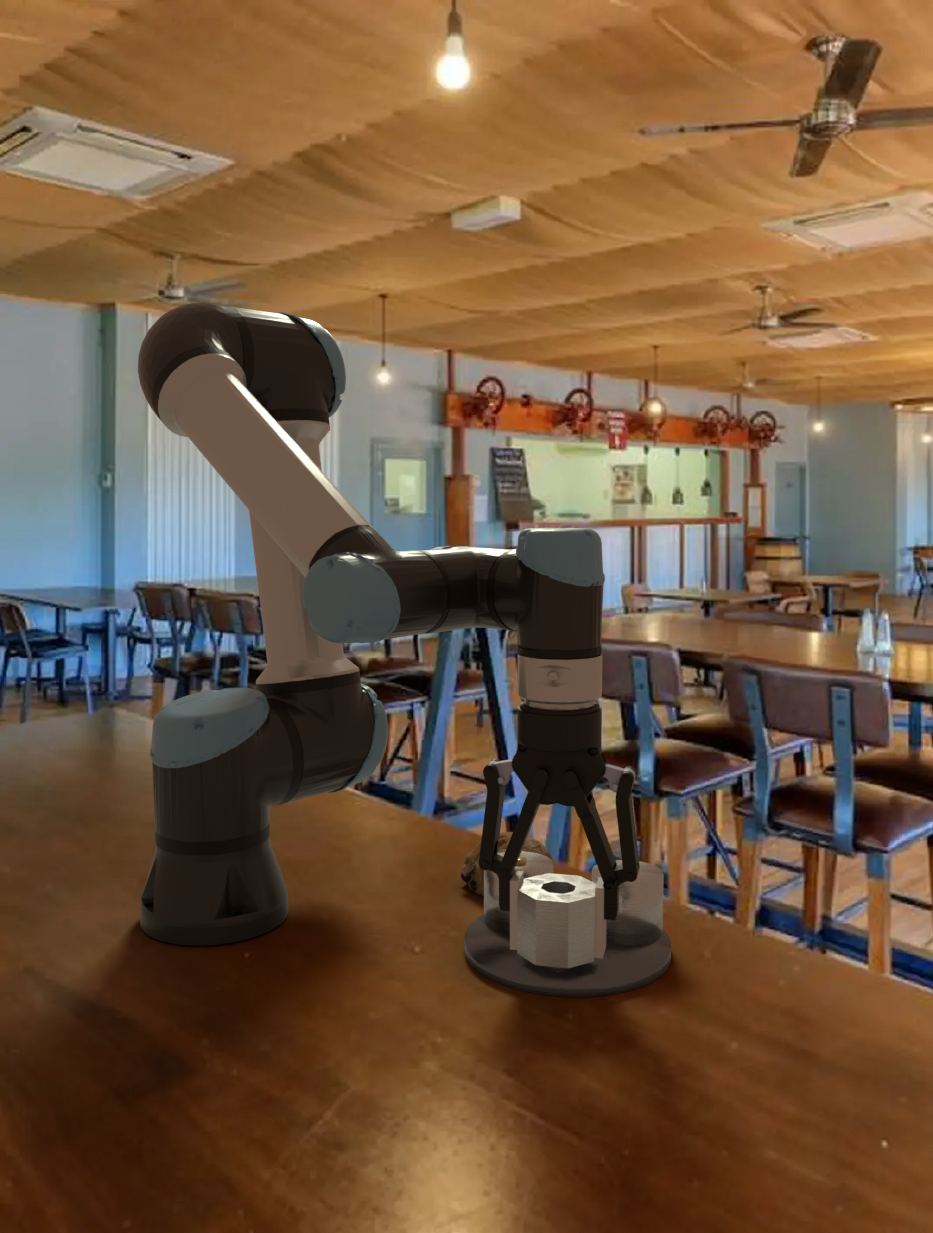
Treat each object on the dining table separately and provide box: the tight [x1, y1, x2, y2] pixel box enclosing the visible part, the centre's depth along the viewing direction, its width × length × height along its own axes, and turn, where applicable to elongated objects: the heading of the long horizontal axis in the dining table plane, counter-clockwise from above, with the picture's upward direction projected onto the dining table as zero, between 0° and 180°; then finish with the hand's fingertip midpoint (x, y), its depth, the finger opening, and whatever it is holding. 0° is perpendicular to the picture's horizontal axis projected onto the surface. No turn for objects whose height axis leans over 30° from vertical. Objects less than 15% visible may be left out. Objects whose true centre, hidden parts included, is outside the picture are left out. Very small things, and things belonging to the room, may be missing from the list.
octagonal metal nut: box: [517, 873, 596, 968], centre depth 99 cm, size 7×7×6 cm
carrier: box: [464, 851, 672, 998], centre depth 105 cm, size 20×20×8 cm
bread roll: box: [460, 831, 555, 897], centre depth 122 cm, size 10×10×8 cm
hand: (558, 947), depth 99 cm, fingers closed on octagonal metal nut, 7 cm apart
